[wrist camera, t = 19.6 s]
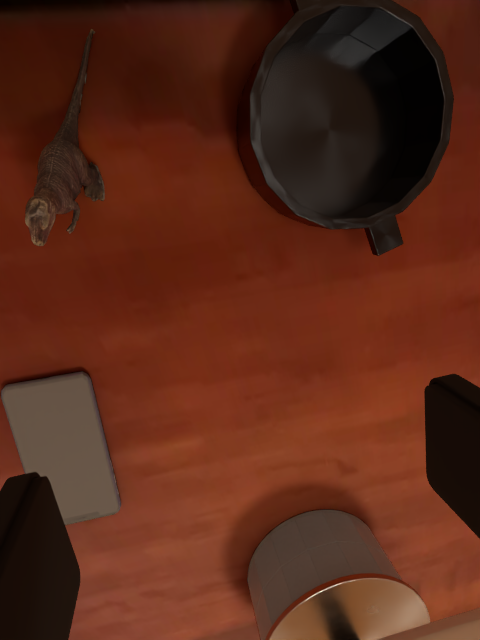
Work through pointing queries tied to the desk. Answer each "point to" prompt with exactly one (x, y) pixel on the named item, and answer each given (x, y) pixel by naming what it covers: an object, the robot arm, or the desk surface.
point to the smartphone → (64, 443)
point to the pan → (346, 116)
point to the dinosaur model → (63, 171)
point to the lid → (352, 610)
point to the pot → (310, 560)
